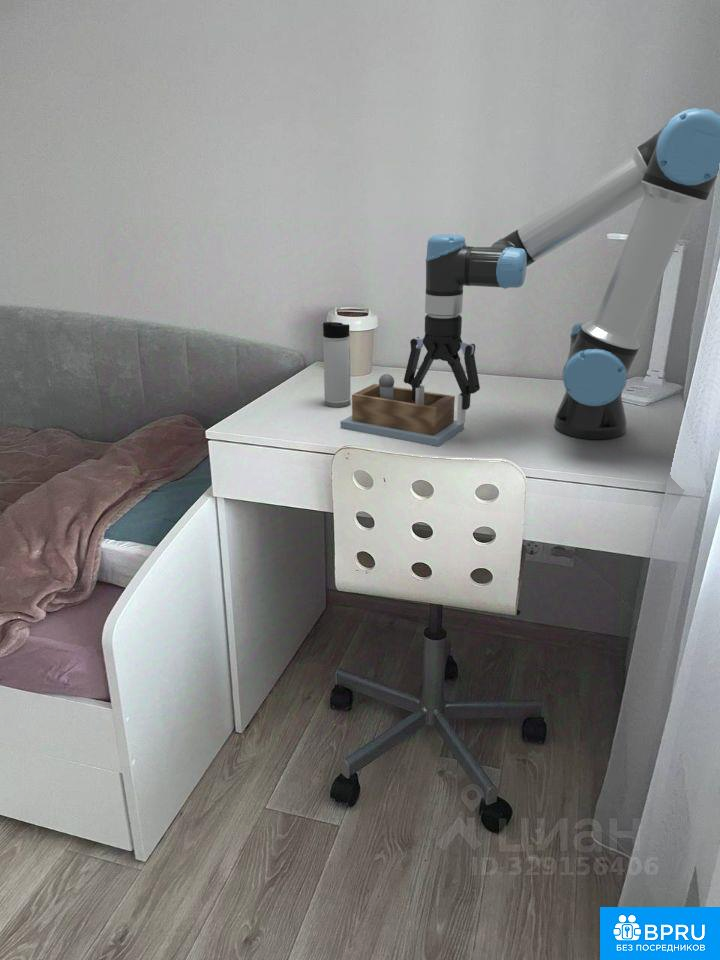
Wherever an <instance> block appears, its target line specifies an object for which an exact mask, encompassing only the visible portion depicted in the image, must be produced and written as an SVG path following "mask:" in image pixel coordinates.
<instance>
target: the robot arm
mask: <svg viewBox="0 0 720 960" xmlns="http://www.w3.org/2000/svg"><path fill="white" fill-rule="evenodd" d="M719 163H720V113H718V112H716V111H714V110H711V109H708V108H701V107H693V108H690V109H686V110H683V111H681V112H679V113H678V114H676V115H675V116H673V117H672V118H671V119H670V120H669V121H668V122H667V123H666V124H665V125H664V126H663V127H662V128H661V129H660V130H658V132H657V133H655V134H654V135H653V136H652V137H650V138H649V139H648V140H646V141H645V142H643V143H641V144H640V145H639V146H637V147H635V149H634V152H633V155H632V156H631V157H630V158H628V159H626V160H625V161H623V162H622V163H620V164H618V165H617V166H615V167H614V168H612V169H610V170H609V171H608V172H606V173H605V174H603V175H601V176H600V177H598V178H597V179H595V180H593V181H592V182H590V183H588V184H587V185H585V186H584V187H582V188H580V189H579V190H578V191H576V192H573V193H572V194H571V195H569V196H568V197H566V198H564V199H563V200H562V201H560V202H558V203H557V204H555V205H554V206H552V207H551V208H549V209H548V210H547V209H546V211H544V212H542V213H541V214H539V215H538V216H536V217H535V218H533V219H531V220H530V221H528V222H527V223H525V224H524V225H522V226H521V227H519V228H518V229H516V230H515V231H513V232H511V233H509V234H508V235H506V236H504V237H502V238H500V239H498V240H497V241H496V242H494V243H492V245H491V246H470V245H467V242H466V238H465V236H463V235H459V234H449V233H448V234H446V233H445V234H436V235H432V236H430V237H429V238H428V239H427V246H426V257H425V302H424V303H425V304H424V312H425V314H426V315H425V316H424V337H423V338H422V337H419V336H417V337H414V338H411V340H410V341H409V343H410V353H409V357H408V361H407V364H406V365H407V366H406V369H405V373H404V378H403V382H404V383H405V384H408V385H410V386H411V389H412V400H413V401H415V404H420V405H424V391H425V385H422V384H423V381H424V379H425V377H426V375H427V374H428V372H429V369H430V368H431V366H432V364H433V362H434V361H435V360H436V361H437V360H440V361H443V362H447V364H448V366H449V367H450V369H451V371H452V373H453V376H454V377H455V380H456V383H457V384H458V388H459V390H460V393H459V394H458V395H457V412H456V413H457V414H456V421H457V425H461V424H463V423H464V424H465V422H466V414H467V413H466V411H467V410H469V408H471V395H472V394H475V393H477V392H479V391H480V389H481V386H480V380H479V376H478V370H477V364H476V357H475V354H476V353H475V352H476V344H475V343H470V344H469V343H465V342H463V340H462V336H461V335H462V327H463V326H462V325H463V324H462V322H463V317H462V316H461V314H462V313H463V300H464V299H463V295H464V286H466V287H486V288H488V287H489V288H502V289H504V290H505V289H508V288H509V289H510V288H512V289H513V288H516V289H517V288H521V287H522V286H523V285H524V283H525V279H526V274H527V267H528V266H531V264H534V262H536V261H539V260H540V259H542V258H543V257H545V256H546V255H547V254H550V253H551V252H553V251H554V250H556V249H558V248H560V247H561V246H563V245H565V244H566V243H568V242H570V241H572V240H573V239H575V238H576V237H578V236H579V235H581V234H583V233H584V232H585V233H586V231H588V230H590V229H592V228H593V227H595V226H597V225H598V224H600V223H602V222H603V221H605V220H606V219H608V218H610V217H611V216H613V215H615V214H616V213H618V212H620V211H621V210H622V211H623V210H624V209H625V208H626V207H628V206H630V205H632V204H633V203H635V202H636V201H639V200H640V199H642V198H643V199H642V201H641V204H640V207H639V208H638V211H637V212H636V213H637V214H636V215H635V218H634V221H633V223H632V226H631V228H630V230H629V232H628V235H627V237H626V238H625V239H626V240H625V243H624V244H623V247H622V249H621V252H620V254H619V256H618V259H617V261H616V264H615V266H614V268H613V270H612V273H611V276H610V278H609V280H608V283H607V285H606V288H605V290H604V291H603V293H602V297H601V299H600V301H599V304H598V306H597V308H596V311H595V313H594V316H593V318H592V319H591V320H590V321H587V322H578V323H575V324H573V326H572V329H571V333H570V335H569V336H570V337H569V338H570V344H569V345H570V347H569V352H568V355H567V360H566V362H565V364H564V367H563V370H562V382H563V385H564V389H565V393H564V396H563V397H562V400H561V402H560V404H559V407H558V409H557V411H556V414H555V416H554V425H553V426H554V428H555V429H556V430H557V431H559V432H560V433H562V434H564V435H567V436H570V437H574V438H578V439H586V440H610V439H615V438H619V437H622V436H623V435H624V434H625V433H626V429H627V417H626V412H625V407H624V402H623V398H622V394H623V392H624V389H625V388H626V385H627V380H628V373H629V371H630V369H631V367H632V364H633V363H634V360H635V358H636V356H637V354H638V352H639V350H640V347H641V345H640V342H639V340H638V337H637V334H638V332H639V329H640V328H641V325H642V323H643V320H644V318H645V315H646V314H647V312H648V309H649V307H650V305H651V303H652V300H653V299H654V296H655V293H656V291H657V290H658V287H659V285H660V283H661V280H662V278H663V276H664V274H665V271H666V269H667V267H668V265H669V263H670V260H671V258H672V256H673V254H674V251H675V249H676V247H677V245H678V242H679V240H680V238H681V236H682V233H683V231H684V229H685V227H686V226H687V225H686V224H687V223H688V221H689V218H690V216H691V214H692V212H693V210H694V209H695V208H696V207H698V206H701V205H703V204H704V203H706V202H707V199H708V197H709V196H710V193H711V191H712V188H713V186H714V185H715V183H716V180H717V178H718V176H717V174H718V171H719ZM718 175H719V174H718ZM423 346H424V347H425V349H426V354H425V356H424V358H423V361H422V363H421V365H420V366H419V367H418V364H419V359H420V355H421V352H422V348H423ZM460 350H461V352H462V355H464V356H463V359H464V365H465V370H464V367H463V365H462V363H461V357H460V355H459V351H460ZM417 368H418V370H417ZM465 372H466V373H465Z"/></svg>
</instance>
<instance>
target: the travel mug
mask: <svg viewBox="0 0 720 960" xmlns="http://www.w3.org/2000/svg"><path fill="white" fill-rule="evenodd" d="M322 327H323V328H322V331H323V333H322V334H323V335H322V338H323V339H322V341H323V342H322V343H323V344H322V346H323V347H322V348H323V376H324V377H323V380H324V382H323V383H324V404H325V405H326V406H328V407H330V408H345V407H348V406H349V405H351V404H352V394H351V339H350V337H351V336H350V324H349V323H347V324H343V323H342V322H336V321H333V322H332V321H327V322H323V324H322Z"/></svg>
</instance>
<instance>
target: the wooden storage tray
mask: <svg viewBox="0 0 720 960" xmlns="http://www.w3.org/2000/svg"><path fill="white" fill-rule="evenodd" d="M455 398H456V397H455V395H449V394H443V393H438V392H431V391H425V390H424V405H420V404H415V401H413V400H412V388H405V387H399V386H398V387H397V386H393V400H390V399H384V398H380V385H379V383H373V384H371V385H369V386H366V387H365V388H363V389H361V390H359V391H357V392H355V393H353V394H351V416H352V421H356V422H361V423H367V424H372V425H378V426H383V427H388V428H394V429H399V430H405V431H410V432H415V433H421V434H426V435H432V436H434V435H436V434H437V433H439V432H440V431H442V430H443V429H445V428H446V427H448V426H449V425H451V424H452V423H454V419H455Z"/></svg>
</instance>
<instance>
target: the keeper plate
mask: <svg viewBox="0 0 720 960" xmlns="http://www.w3.org/2000/svg"><path fill="white" fill-rule="evenodd" d="M378 384H379V385H380V398H384V399H390V400H393V387H394V385H395V379H394V377H393V376H392V374H389V373H388V374H387V373H384V374H382V375H381V376H380V377H379V379H378ZM340 428H341V429H344V430H345V429H346V430H351V431H356V432H361V433H367V434H371V435H377V436H380V437H381V436H382V437H387V438H392V439H398V440H403V441H408V442H413V443H418V444H423V445H424V444H425V445H430V446H433V447H440V446H441V445H443V444H444V443H446V442H447V441H449V440H450V439H452V438H453V437H454V436H455V435H457V434H458V433H459V432H461V431H463V430H464V429H465V422H464V423H463V424H461V425H457V419H455V420H454V423H452V424H451V425H449V426H448V427H446V428H445V429H443V430H442V431H440V432H439V433H437V434H436V435H434V436H432V435H426V434H421V433H415V432H410V431H405V430H399V429H394V428H388V427H383V426H378V425H372V424H367V423H361V422H356V421H352V415H350V416H347V417H346V418H344V419H342V420H341V421H340Z"/></svg>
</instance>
